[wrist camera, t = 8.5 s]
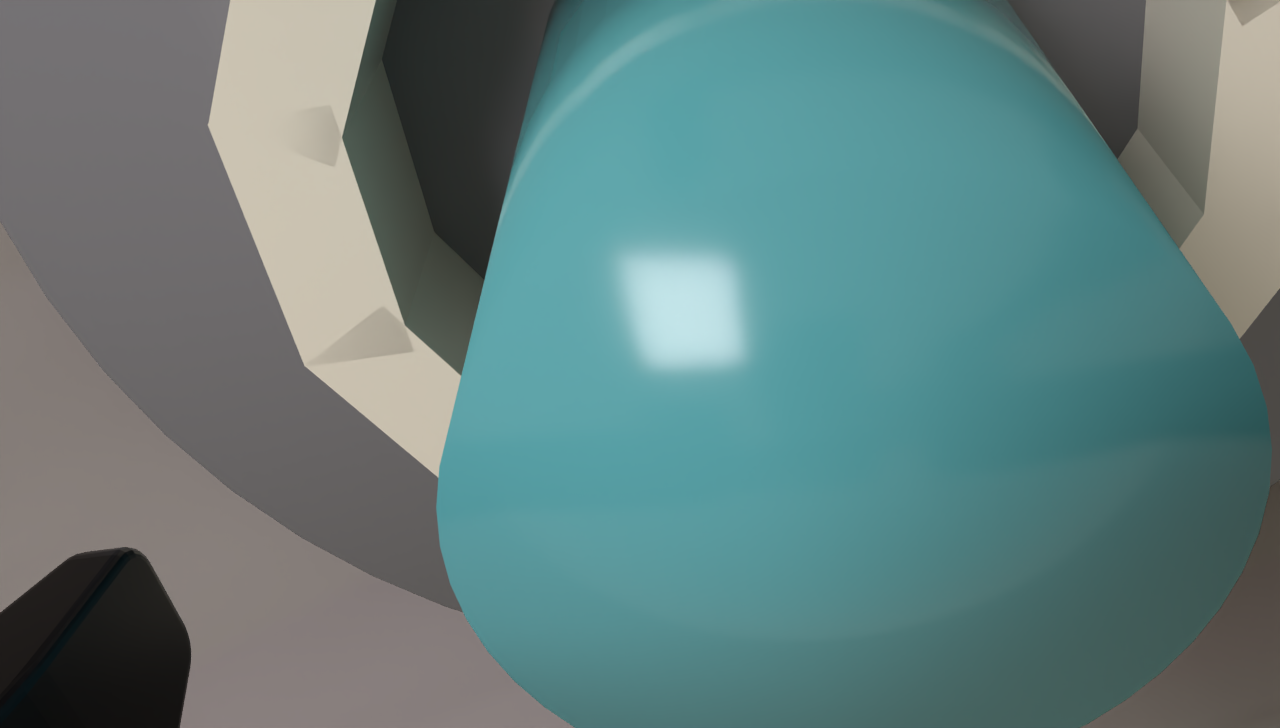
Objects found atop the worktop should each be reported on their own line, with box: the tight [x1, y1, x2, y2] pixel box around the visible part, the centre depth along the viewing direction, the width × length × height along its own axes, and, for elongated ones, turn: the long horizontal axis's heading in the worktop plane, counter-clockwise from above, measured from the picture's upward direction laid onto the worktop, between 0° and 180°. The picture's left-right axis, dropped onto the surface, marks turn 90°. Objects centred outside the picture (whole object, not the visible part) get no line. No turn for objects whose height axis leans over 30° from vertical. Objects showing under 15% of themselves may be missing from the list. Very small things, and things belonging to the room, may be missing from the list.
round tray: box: [0, 0, 1280, 612], centre depth 13 cm, size 18×18×3 cm
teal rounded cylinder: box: [436, 0, 1272, 728], centre depth 10 cm, size 5×5×7 cm
